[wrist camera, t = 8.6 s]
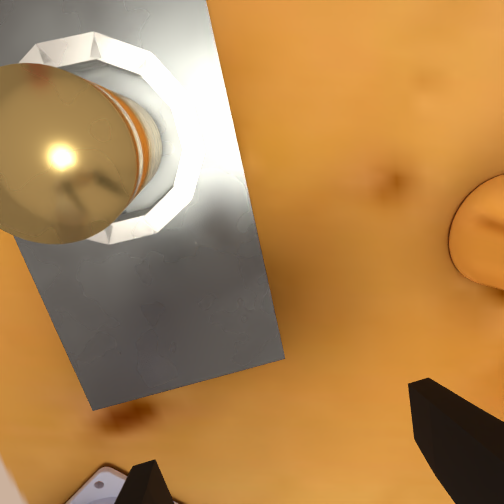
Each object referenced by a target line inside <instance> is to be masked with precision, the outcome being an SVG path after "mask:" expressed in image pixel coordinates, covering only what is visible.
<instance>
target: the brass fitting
mask: <svg viewBox="0 0 504 504" xmlns="http://www.w3.org/2000/svg"><path fill="white" fill-rule="evenodd" d="M161 156H162V143H161V137H160V134H159V131H158V128H157V126H156V124H155V122H154V121H153V119H152V117H151V116H150V115H149V114H148V112H147V111H146V110H145V109H144V108H143V107H141V106H140V105H139V104H138V103H136V102H135V101H133V100H131V99H130V98H127V97H125V96H123V95H121V94H118V93H116V92H114V91H111V90H109V89H107V88H104V87H102V86H100V85H98V84H95V83H93V82H91V81H88V80H86V79H84V78H81V77H79V76H77V75H74V74H72V73H70V72H68V71H65V70H62V69H59V68H56V67H53V66H49V65H43V64H36V63H17V64H10V65H5V66H1V67H0V229H2V230H3V231H5V232H7V233H9V234H12V235H14V236H16V237H19V238H22V239H25V240H28V241H32V242H37V243H44V244H66V243H73V242H77V241H81V240H84V239H87V238H89V237H92V236H94V235H96V234H98V233H99V232H101V231H103V230H104V229H105V228H107V227H108V226H109V225H111V224H112V223H113V222H114V221H115V220H116V219H117V218H118V217H119V215H120V214H121V213H122V212H123V211H124V210H125V209H126V208H127V206H128V205H129V204H130V203H131V202H132V201H133V200H134V199H135V197H136V196H137V195H138V194H139V193H140V192H141V191H142V190H143V188H144V187H145V186H146V185H147V184H148V183H149V182H150V181H151V179H152V178H153V177H154V175H155V174H156V172H157V170H158V167H159V165H160V161H161Z"/></svg>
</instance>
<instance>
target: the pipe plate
mask: <svg viewBox="0 0 504 504" xmlns="http://www.w3.org/2000/svg"><path fill="white" fill-rule="evenodd" d="M17 63H36V64H43V65H49V66H53V67H56V68H59V69H62V70H65V71H68V72H70V73H72V74H74V75H77V76H79V77H81V78H84V79H86V80H88V81H91V82H93V83H95V84H98V85H100V86H102V87H104V88H107V89H109V90H111V91H114V92H116V93H118V94H121V95H123V96H125V97H127V98H130V99H131V100H133V101H135V102H136V103H138V104H139V105H140V106H141V107H143V108H144V109H145V110H146V111H147V112H148V114H149V115H150V116H151V117H152V119H153V121H154V122H155V124H156V126H157V128H158V131H159V134H160V137H161V143H162V156H161V161H160V165H159V167H158V170H157V172H156V174H155V175H154V177H153V178H152V179H151V181H150V182H149V183H148V184H147V185H146V186H145V187H144V188H143V190H142V191H141V192H140V193H139V194H138V195H137V196H136V197H135V199H134V200H133V201H132V202H131V203H130V204H129V205H128V206H127V208H126V209H125V210H124V211H123V212H122V213H121V214H120V215H119V217H118V218H117V219H116V220H115V221H114V222H113V223H112V224H111V225H109V226H108V227H107V228H105V229H104V230H103V231H101V232H99V233H98V234H96V235H94V236H92V237H89V238H87V239H84V240H81V241H77V242H73V243H66V244H44V243H37V242H32V241H28V240H25V239H22V238H19V237H16V236H14V235H13V236H14V238H15V240H16V242H17V245H18V247H19V249H20V251H21V253H22V256H23V258H24V260H25V262H26V264H27V267H28V269H29V271H30V273H31V275H32V278H33V280H34V282H35V284H36V286H37V289H38V291H39V293H40V295H41V298H42V300H43V302H44V304H45V306H46V309H47V311H48V313H49V315H50V317H51V320H52V322H53V324H54V326H55V328H56V331H57V333H58V335H59V337H60V339H61V342H62V344H63V346H64V348H65V351H66V353H67V355H68V357H69V359H70V362H71V364H72V366H73V368H74V370H75V373H76V375H77V377H78V379H79V381H80V384H81V386H82V388H83V390H84V392H85V395H86V397H87V399H88V401H89V403H90V406H91V408H92V410H93V411H94V410H98V409H101V408H105V407H109V406H112V405H116V404H120V403H124V402H127V401H131V400H135V399H138V398H142V397H146V396H149V395H153V394H157V393H160V392H164V391H168V390H171V389H175V388H179V387H183V386H186V385H190V384H194V383H197V382H201V381H205V380H208V379H212V378H216V377H219V376H223V375H227V374H230V373H234V372H238V371H242V370H245V369H249V368H253V367H256V366H260V365H264V364H267V363H271V362H275V361H278V360H282V359H285V356H284V351H283V347H282V342H281V338H280V333H279V329H278V324H277V320H276V315H275V311H274V306H273V302H272V297H271V293H270V288H269V283H268V279H267V274H266V270H265V265H264V261H263V256H262V252H261V247H260V243H259V238H258V234H257V229H256V225H255V220H254V216H253V211H252V207H251V202H250V198H249V193H248V188H247V184H246V179H245V175H244V170H243V166H242V161H241V157H240V152H239V148H238V143H237V139H236V134H235V130H234V125H233V121H232V116H231V112H230V107H229V103H228V98H227V93H226V89H225V84H224V80H223V75H222V71H221V66H220V62H219V57H218V53H217V48H216V44H215V39H214V35H213V30H212V26H211V21H210V17H209V12H208V8H207V3H206V0H0V67H1V66H5V65H10V64H17Z"/></svg>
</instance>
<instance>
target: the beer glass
mask: <svg viewBox="0 0 504 504" xmlns="http://www.w3.org/2000/svg"><path fill="white" fill-rule="evenodd" d="M449 250H450V255H451V258H452V261H453V263H454V265H455V267H456V268H457V269H458V271H459V272H460V273H461V274H462V275H463V276H465V277H466V278H467V279H469V280H471V281H473V282H476V283H478V284H481V285H485V286H489V287H492V288H496V289H500V290H503V291H504V174H503V175H500V176H497V177H494V178H492V179H490V180H488V181H486V182H484V183H483V184H481V185H480V186H479V187H477V188H476V189H475V190H474V191H473V192H472V193H471V194H470V195H469V196H468V197H467V198H466V199H465V200H464V202H463V203H462V204H461V206H460V207H459V209H458V211H457V213H456V215H455V217H454V219H453V222H452V225H451V229H450V234H449Z"/></svg>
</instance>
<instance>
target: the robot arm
mask: <svg viewBox="0 0 504 504" xmlns="http://www.w3.org/2000/svg"><path fill="white" fill-rule="evenodd" d="M408 388H409V397H410V406H411V414H412V423H413V432H414V439H415V441H416V443H417V445H418V446H419V448H420V450H421V452H422V454H423V455H424V457H425V459H426V461H427V462H428V464H429V466H430V467H431V469H432V471H433V472H434V474H435V476H436V477H437V479H438V480H439V481H440V483H441V484H442V486H443V487H444V488H445V490H446V491H447V492H448V494H449V495H450V497H451V498H452V499H453V501H454V502H455V504H504V422H503V421H501V420H499V419H497V418H496V417H494V416H492V415H490V414H489V413H487V412H485V411H484V410H482V409H480V408H478V407H477V406H475V405H473V404H472V403H470V402H468V401H467V400H465V399H463V398H462V397H460V396H458V395H457V394H455V393H453V392H452V391H450V390H448V389H447V388H445V387H443V386H442V385H440V384H438V383H437V382H435V381H433V380H432V379H430V378H426V379H422V380H419V381H416V382H412V383H409V384H408ZM98 481H101V482H98ZM65 504H178V503H176V502H174V501H173V499H172V497H171V495H170V492H169V490H168V488H167V485H166V483H165V481H164V478H163V476H162V474H161V471H160V469H159V467H158V464H157V462H156V460H151V461H148V462H145V463H141V464H138V465H135V466H133V467H132V469H131V470H130V472H129V474H128V476H126V475H124V474H122V473H120V472H118V471H117V470H115V469H113V468H111V467H103V468H100V469H99V470H98V471H97V472H96V473H95V474H94V475H93V476H92V477H91V478H90V479H89V480H88V481H87V482H86V483H85V484H84V485H83V486H82V487H81V488H80V489H79V490H78V491H77V492H76V493H75V494H74V495H73V496H72V497H71V498H70V499H69V500H68V501H67V502H66V503H65Z"/></svg>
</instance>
